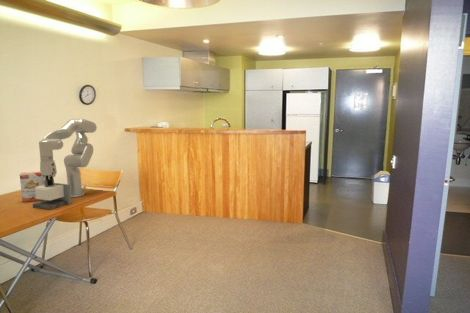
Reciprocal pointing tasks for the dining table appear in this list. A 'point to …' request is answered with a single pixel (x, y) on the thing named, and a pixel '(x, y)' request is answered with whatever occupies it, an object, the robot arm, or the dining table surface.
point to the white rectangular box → (49, 191)
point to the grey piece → (56, 200)
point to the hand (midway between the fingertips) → (49, 184)
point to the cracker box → (30, 185)
